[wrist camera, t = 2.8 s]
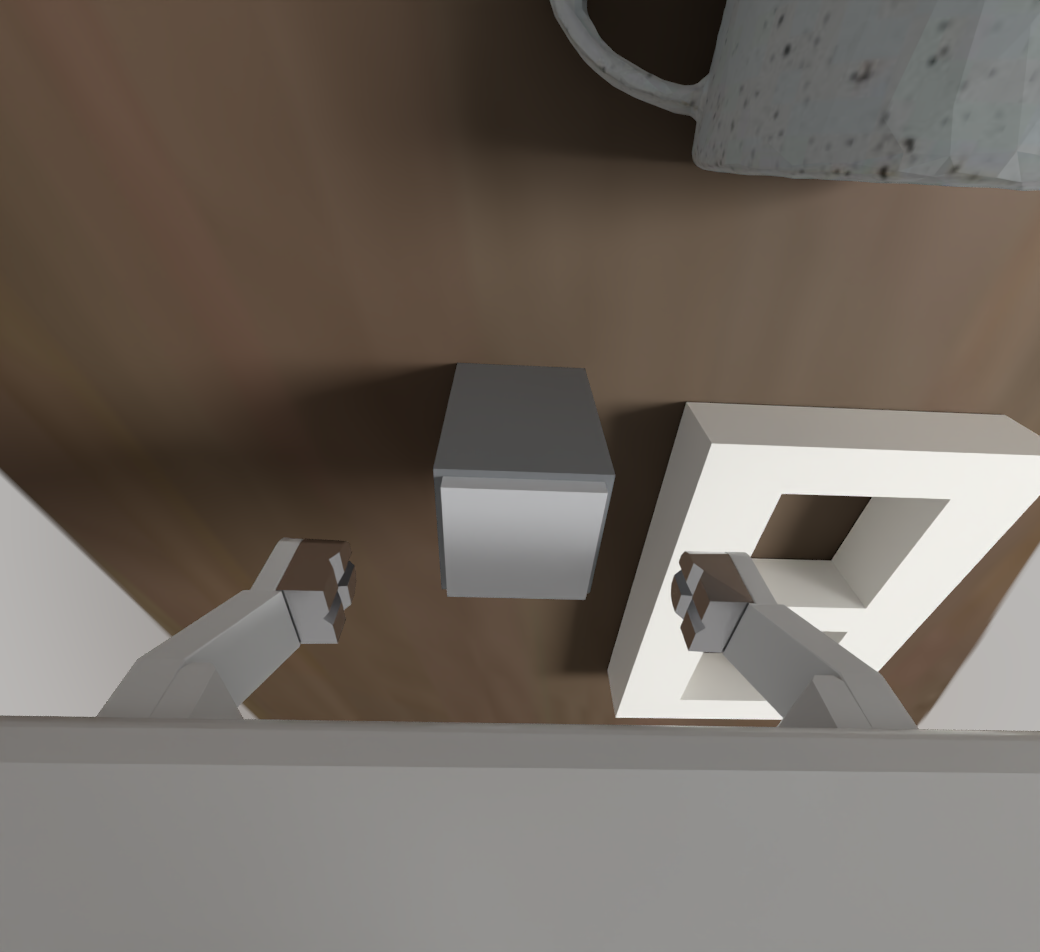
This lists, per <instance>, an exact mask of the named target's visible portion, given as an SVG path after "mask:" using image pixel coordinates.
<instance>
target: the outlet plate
mask: <svg viewBox="0 0 1040 952" xmlns="http://www.w3.org/2000/svg"><path fill="white" fill-rule="evenodd" d="M781 494H807V495H837V496H868V497H872V498H871V500H870V501H869V503H868V504H867V506H866V507H865V509H864V510H863V512H862V513H861V515H860V517H859V518H858V520H857V521H856V523H855V524H854V526H853V527H852V529H851V531H850V532H849V534H848V535H847V537H846V538H845V540H844V541H843V543H842V544H841V546H840V548H839V549H838V551H837V552H836V554H835V555H834V557H833V558H832V560H794V559H757V558H751V559H752V561H753V562H754V564H755V566H756V568H757V569H758V571H759V573H760V575H761V576H762V578H763V580H764V581H765V583H766V585H767V587H768V588H769V590H770V592H771V594H772V595H773V597H774V599H775V601H776V602H777V604H783V605H785V606H786V607H788V608H789V609H791V610H792V611H793V612H795V613H796V614H798V615H799V616H800V617H802V618H803V619H805V620H806V621H807V622H809V623H810V624H811V625H813V626H814V627H816V628H817V629H818V630H820V631H821V632H823V633H824V634H825V635H827V636H828V637H830V638H831V639H832V640H834V641H835V642H837V643H838V644H839V645H841V646H842V647H843V648H845V649H846V650H848V651H849V652H850V653H852V654H853V655H855V656H856V657H857V658H859V659H860V660H862V661H863V662H864V663H866V664H867V665H869V666H870V667H871V668H873V669H874V670H875V671H877V672H878V671H879V670H880V669H881V668H882V667H883V666H884V664H885V663H886V662H887V661H888V660H889V659H890V658H891V657H892V656H893V655H894V654H895V652H896V651H897V650H898V649H899V648H900V647H901V646H902V645H903V644H904V643H905V642H906V640H907V639H908V638H909V637H910V636H911V635H912V634H913V633H914V632H915V631H916V630H917V628H918V627H919V626H920V625H921V624H922V623H923V622H924V621H925V620H926V619H927V618H928V616H929V615H930V614H931V613H932V612H933V611H934V610H935V609H936V608H937V607H938V606H939V604H940V603H941V602H942V601H943V600H944V599H945V598H946V597H947V596H948V595H949V594H950V592H951V591H952V590H953V589H954V588H955V587H956V586H957V585H958V584H959V583H960V582H961V580H962V579H963V578H964V577H965V576H966V575H967V574H968V573H969V572H970V571H971V570H972V568H973V567H974V566H975V565H976V564H977V563H978V562H979V561H980V560H981V559H982V558H983V556H984V555H985V554H986V553H987V552H988V551H989V550H990V549H991V548H992V547H993V546H994V544H995V543H996V542H997V541H998V540H999V539H1000V538H1001V537H1002V536H1003V535H1004V534H1005V532H1006V531H1007V530H1008V529H1009V528H1010V527H1011V526H1012V525H1013V524H1014V523H1015V522H1016V520H1017V519H1018V518H1019V517H1020V516H1021V515H1022V514H1023V513H1024V512H1025V511H1026V510H1027V508H1028V507H1029V506H1030V505H1031V504H1032V503H1033V502H1034V501H1035V500H1036V499H1037V498H1038V496H1039V495H1040V436H1039V435H1037V434H1036V433H1034V432H1032V431H1031V430H1029V429H1027V428H1026V427H1024V426H1022V425H1021V424H1019V423H1017V422H1016V421H1014V420H1012V419H1011V418H1009V417H1007V416H1006V415H993V414H968V413H944V412H919V411H895V410H870V409H846V408H821V407H797V406H772V405H748V404H723V403H699V402H686V405H685V408H684V412H683V415H682V418H681V422H680V425H679V429H678V432H677V435H676V439H675V442H674V446H673V449H672V452H671V456H670V459H669V463H668V466H667V469H666V473H665V476H664V480H663V483H662V486H661V490H660V493H659V496H658V500H657V503H656V507H655V510H654V513H653V517H652V520H651V524H650V527H649V530H648V534H647V537H646V541H645V544H644V547H643V551H642V554H641V558H640V561H639V564H638V568H637V571H636V575H635V578H634V581H633V585H632V588H631V592H630V595H629V598H628V602H627V605H626V609H625V612H624V615H623V619H622V622H621V626H620V629H619V632H618V636H617V639H616V643H615V646H614V649H613V653H612V656H611V659H610V663H609V666H608V670H607V671H608V677H609V682H610V688H611V694H612V700H613V706H614V711H615V717H616V718H698V719H780V720H782V719H783V718H782V716H781V715H780V714H779V713H778V712H777V711H776V710H775V709H774V708H773V707H772V706H771V705H770V704H769V703H768V702H767V701H766V700H765V699H764V697H763V696H762V695H761V694H760V693H759V692H758V691H757V690H756V689H755V688H754V687H753V686H752V685H751V684H750V683H749V682H748V681H747V679H746V678H745V677H744V676H743V675H742V674H741V673H740V672H739V671H738V670H737V669H736V668H735V667H734V666H733V665H732V664H731V663H730V662H729V660H728V659H727V658H726V657H725V656H724V655H723V653H703V652H696V651H688V649H687V646H686V643H685V640H684V637H683V634H682V631H681V629H680V627H681V624H682V621H683V619H682V618H681V617H680V616H679V615H678V614H676V613H675V611H674V608H673V605H672V600H671V583H672V580H673V577H674V575H675V574H676V573H677V572H679V571H680V570H681V567H680V565H679V560H680V557H681V555H682V554H683V553H684V552H685V551H701V552H746V553H747V554H748V555H749V556H750V557H751V555H752V553H753V551H754V549H755V547H756V545H757V543H758V541H759V539H760V537H761V535H762V533H763V531H764V529H765V527H766V525H767V523H768V520H769V518H770V516H771V514H772V512H773V510H774V508H775V506H776V504H777V502H778V500H779V498H780V496H781Z"/></svg>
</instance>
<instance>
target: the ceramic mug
mask: <svg viewBox="0 0 1040 952" xmlns="http://www.w3.org/2000/svg"><path fill="white" fill-rule="evenodd" d="M550 3H551V6H552V9H553V13H554V16H555V18H556V19H557V21H558V23H559V24H560V26H561V28H562V29H563V31H564V33H565V34H566V36H567V37H568V39H569V41H570V42H571V44H572V45H573V47H574V48H575V50H576V51H577V52H578V53H579V55H580V56H581V57H582V59H583V60H584V61H585V62H586V64H588V65H589V66H590V67H591V68H592V69H593V70H594V71H595V72H596V73H597V74H599V75H600V76H601V77H602V78H603V79H605V80H606V81H607V82H608V83H610V84H611V85H612V86H614V87H616V88H617V89H619V90H621V91H623V92H625V93H627V94H629V95H631V96H633V97H634V98H637V99H639V100H642V101H645V102H647V103H650V104H652V105H655V106H657V107H660V108H663V109H665V110H668V111H670V112H673V113H677V114H683V115H689V116H691V117H692V118H693V119H695V120H696V122H697V124H696V130H695V136H694V143H693V149H692V158H693V162H694V163H695V164H696V166H698V167H699V168H701V169H704V170H709V171H715V172H725V173H735V174H742V175H768V176H780V177H787V178H793V179H823V180H845V181H860V182H874V183H908V184H923V185H939V186H954V187H989V188H1003V189H1012V190H1021V191H1028V190H1040V0H727V2H726V7H725V9H724V14H723V18H722V23H721V27H720V30H719V33H718V36H717V43H716V48H715V52H714V56H713V60H712V64H711V68H710V72H709V74H708V75H707V76H705V77H704V78H703V79H702V80H701V81H700V82H699V83H697V84H695V85H680V84H677V83H673V82H669V81H666V80H662V79H660V78H658V77H657V76H655V75H653V74H650V73H648V72H646V71H645V70H643V69H641V68H639V67H638V66H636V65H634V64H633V63H631V62H629V61H628V60H626V59H624V58H623V57H621V56H619V55H618V54H616V53H615V52H614V51H613V50H612V49H611V48H610V47H609V46H608V45H607V44H606V43H605V42H604V41H603V40H602V39H601V37H600V36H599V34H598V32H597V30H596V28H595V26H594V25H593V22H592V21H591V20H590V18H589V16H588V11H587V0H550Z"/></svg>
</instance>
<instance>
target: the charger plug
mask: <svg viewBox="0 0 1040 952" xmlns="http://www.w3.org/2000/svg"><path fill="white" fill-rule="evenodd" d="M433 473H434V487H435V501H436V515H437V529H438V543H439V557H440V571H441V585H442V589H447V596H451V597H492V598H533V599H573V600H585V599H586V594H587V593H590V590H591V585H592V581H593V576H594V571H595V567H596V562H597V558H598V553H599V548H600V544H601V539H602V535H603V530H604V525H605V521H606V516H607V511H608V507H609V502H610V498H611V493H612V488H613V484H614V479H615V472H614V468H613V465H612V461H611V458H610V454H609V451H608V447H607V444H606V440H605V437H604V434H603V430H602V427H601V423H600V420H599V416H598V413H597V409H596V406H595V402H594V399H593V395H592V392H591V388H590V385H589V381H588V378H587V374H586V371H585V368H563V367H540V366H517V365H494V364H471V363H457V366H456V371H455V375H454V380H453V384H452V388H451V393H450V397H449V401H448V406H447V410H446V415H445V419H444V423H443V428H442V432H441V437H440V441H439V445H438V450H437V454H436V458H435V463H434V467H433Z"/></svg>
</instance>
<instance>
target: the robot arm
mask: <svg viewBox="0 0 1040 952" xmlns="http://www.w3.org/2000/svg"><path fill="white" fill-rule="evenodd" d="M351 553H352V551H351V547H350V543H349V542H347V541H340V540H322V539H295V538H283V539H281V540H280V541H279V542H278V543H277V544H276V546H275V548H274V550H273V551H272V553H271V555H270V556H269V558H268V560H267V562H266V563H265V565H264V567H263V568H262V570H261V572H260V574H259V575H258V577H257V579H256V581H255V582H254V584H253V586H252V587H251V589H250V590H243V591H241V592H240V593H238V594H237V595H235V596H234V597H232V598H231V599H229V600H227V601H226V602H224V603H223V604H221V605H220V606H218V607H217V608H215V609H214V610H212V611H211V612H209V613H208V614H206V615H205V616H203V617H201V618H200V619H198V620H197V621H195V622H194V623H192V624H191V625H189V626H188V627H186V628H185V629H183V630H182V631H180V632H179V633H177V634H175V635H174V636H172V637H171V638H169V639H168V640H166V641H165V642H163V643H162V644H160V645H159V646H157V647H156V648H154V649H153V650H151V651H149V652H148V653H146V654H145V655H143V656H142V657H140V658H139V659H137V661H136V662H135V663H134V665H133V666H132V668H131V669H130V670H129V672H128V673H127V675H126V676H125V677H124V679H123V680H122V681H121V683H120V684H119V686H118V687H117V688H116V690H115V691H114V693H113V694H112V695H111V697H110V698H109V700H108V701H107V702H106V704H105V705H104V707H103V708H102V710H101V711H100V712H99V713H98V715H97V716H96V717H61V716H60V717H59V716H0V952H1040V731H995V730H928V729H927V730H926V729H918V727H917V726H916V724H915V723H914V721H913V720H912V718H911V717H910V716H909V714H908V713H907V711H906V710H905V708H904V707H903V705H902V704H901V702H900V701H899V699H898V698H897V696H896V695H895V694H894V692H893V691H892V689H891V688H890V686H889V685H888V683H887V682H886V680H885V679H884V677H883V676H882V675H881V674H880V673H878V672H877V671H875V670H874V669H873V668H871V667H870V666H869V665H867V664H866V663H864V662H863V661H862V660H860V659H859V658H857V657H856V656H855V655H853V654H852V653H850V652H849V651H848V650H846V649H845V648H843V647H842V646H841V645H839V644H838V643H837V642H835V641H834V640H832V639H831V638H830V637H828V636H827V635H825V634H824V633H823V632H821V631H820V630H818V629H817V628H816V627H814V626H813V625H811V624H810V623H809V622H807V621H806V620H805V619H803V618H802V617H800V616H799V615H798V614H796V613H795V612H793V611H792V610H791V609H789V608H788V607H786V606H785V605H783V604H777V602H776V601H775V599H774V597H773V595H772V594H771V592H770V590H769V588H768V587H767V585H766V583H765V581H764V580H763V578H762V576H761V575H760V573H759V571H758V569H757V568H756V566H755V564H754V562H753V561H752V559H751V557H750V556H749V555H748V554H747V553H746V552H701V551H685V552H684V553H683V554H682V555H681V557H680V560H679V565H680V567H681V570H680V571H679V572H677V573H676V574H675V575H674V577H673V580H672V583H671V600H672V605H673V608H674V611H675V613H676V614H678V615H679V616H680V617H681V618H682V619H683V621H682V624H681V627H680V629H681V631H682V634H683V637H684V640H685V643H686V646H687V649H688V651H696V652H717V653H723V655H724V656H725V657H726V658H727V659H728V660H729V662H730V663H731V664H732V665H733V666H734V667H735V668H736V669H737V670H738V671H739V672H740V673H741V674H742V675H743V676H744V677H745V678H746V679H747V681H748V682H749V683H750V684H751V685H752V686H753V687H754V688H755V689H756V690H757V691H758V692H759V693H760V694H761V695H762V696H763V697H764V699H765V700H766V701H767V702H768V703H769V704H770V705H771V706H772V707H773V708H774V709H775V710H776V711H777V712H778V713H779V714H780V715H781V716H782V718H783V719H782V721H781V722H780V723H779V725H778V726H777V727H729V726H660V725H589V724H521V723H455V722H389V721H322V720H256V719H252V720H251V719H243V717H242V715H241V714H240V712H239V710H238V708H237V707H238V706H239V705H240V704H241V703H242V702H243V701H244V700H245V699H246V698H247V697H248V696H249V695H250V694H251V693H252V692H253V691H254V690H256V689H257V688H258V687H259V686H260V685H261V684H262V683H263V682H264V681H265V680H266V679H267V678H268V677H269V676H270V675H271V674H272V673H273V672H274V671H275V670H276V669H277V668H278V667H279V666H280V665H281V664H282V663H283V662H284V661H285V660H286V659H287V658H288V657H289V656H290V655H291V654H292V653H293V652H294V651H296V650H297V649H298V648H299V647H300V644H314V643H338V641H339V638H340V635H341V632H342V629H343V627H344V624H345V621H346V617H345V613H344V609H346V608H347V607H348V606H349V605H351V603H352V600H353V597H354V594H355V587H356V570H355V566H354V565H353V564H352V563H351V562H350V561H349V559H350V556H351Z"/></svg>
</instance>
